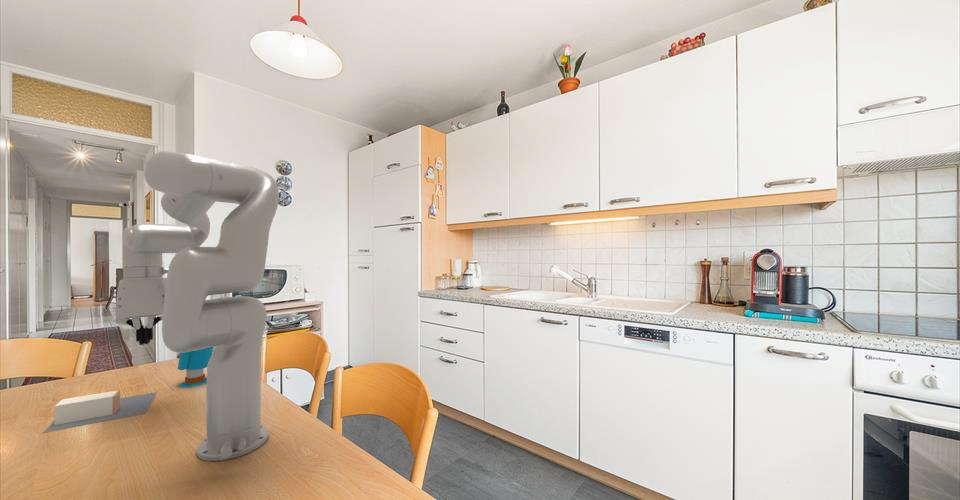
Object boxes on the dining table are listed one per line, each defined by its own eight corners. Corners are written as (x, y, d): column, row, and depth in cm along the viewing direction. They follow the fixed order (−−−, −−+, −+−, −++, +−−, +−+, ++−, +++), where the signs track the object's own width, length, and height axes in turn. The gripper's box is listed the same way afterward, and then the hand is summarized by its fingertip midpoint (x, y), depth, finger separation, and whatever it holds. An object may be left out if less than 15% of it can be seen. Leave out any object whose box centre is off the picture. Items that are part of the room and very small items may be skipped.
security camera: (209, 317, 106) (169, 318, 103) (209, 387, 106) (169, 390, 103) (220, 312, 114) (183, 313, 111) (220, 377, 114) (183, 380, 111)
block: (114, 396, 88) (54, 406, 82) (114, 414, 88) (54, 425, 82) (119, 390, 92) (62, 399, 86) (119, 407, 92) (62, 417, 86)
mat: (145, 414, 88) (145, 413, 88) (42, 434, 79) (42, 433, 79) (157, 393, 102) (157, 391, 102) (70, 408, 92) (70, 406, 92)
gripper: (182, 271, 100) (183, 336, 99) (107, 275, 91) (108, 345, 91) (178, 272, 94) (180, 341, 93) (98, 275, 85) (99, 351, 85)
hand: (144, 343), depth 92 cm, fingers closed
